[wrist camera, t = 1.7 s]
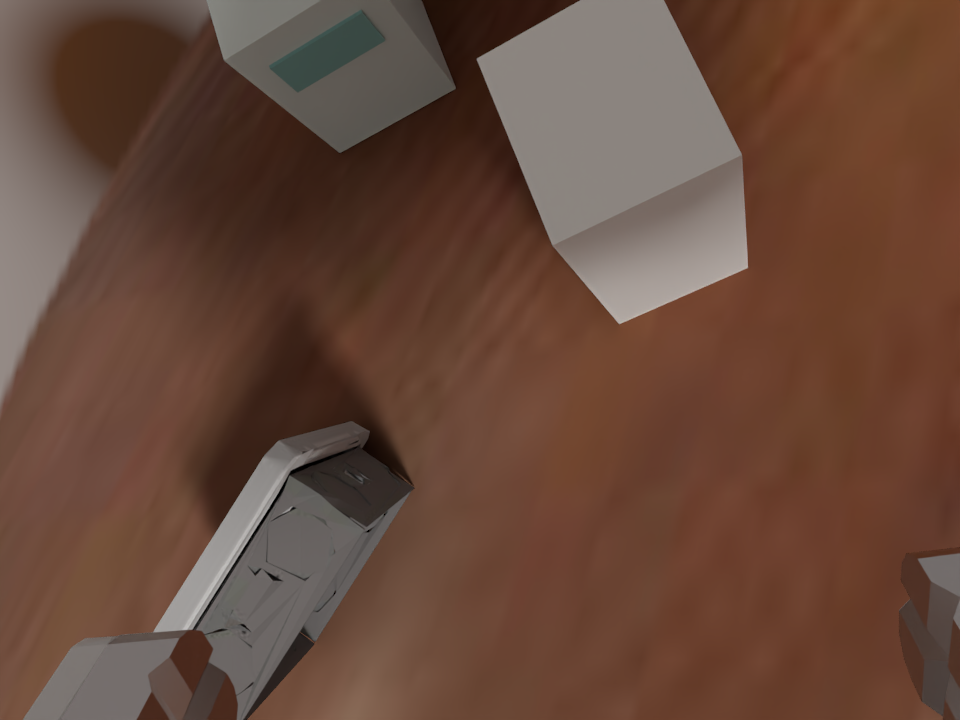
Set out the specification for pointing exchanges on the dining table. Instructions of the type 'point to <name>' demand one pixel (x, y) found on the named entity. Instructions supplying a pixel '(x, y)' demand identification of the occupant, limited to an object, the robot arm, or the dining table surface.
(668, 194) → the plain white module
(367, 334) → the dining table surface
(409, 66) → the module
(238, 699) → the electrical switch
